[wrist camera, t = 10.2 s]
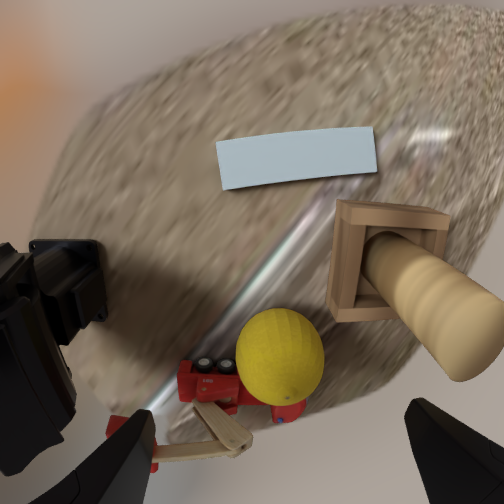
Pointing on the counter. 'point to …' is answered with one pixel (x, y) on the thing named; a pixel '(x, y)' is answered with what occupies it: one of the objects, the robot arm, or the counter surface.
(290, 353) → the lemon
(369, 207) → the square wooden tray
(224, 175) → the plate
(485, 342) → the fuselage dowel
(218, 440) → the toy fire truck
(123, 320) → the counter surface
